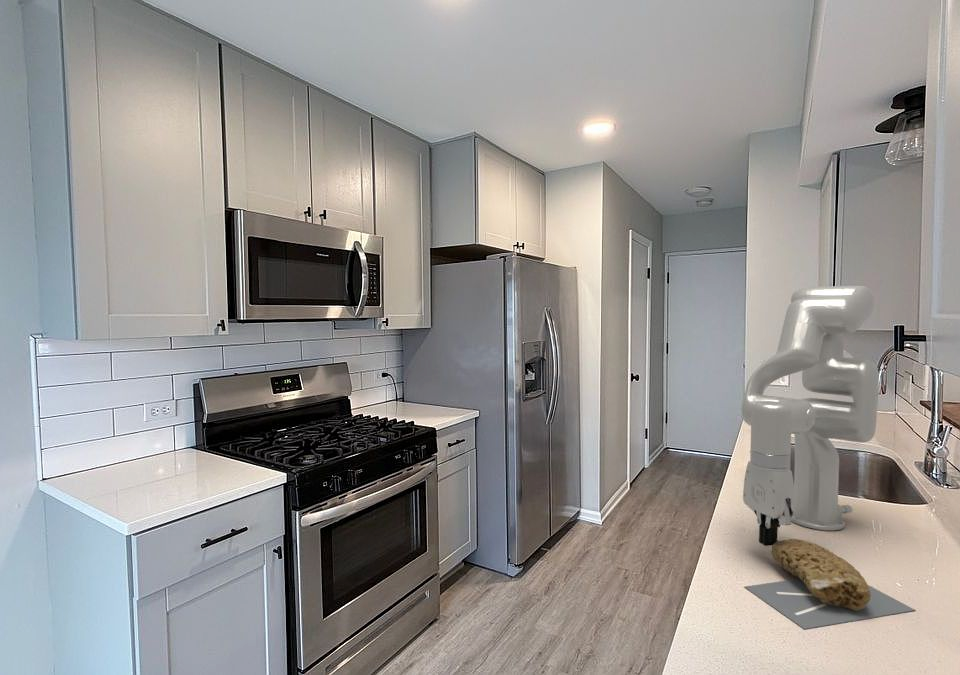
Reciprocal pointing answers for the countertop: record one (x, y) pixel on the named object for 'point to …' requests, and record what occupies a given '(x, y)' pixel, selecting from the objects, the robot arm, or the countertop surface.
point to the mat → (821, 605)
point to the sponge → (823, 573)
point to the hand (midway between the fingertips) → (768, 543)
